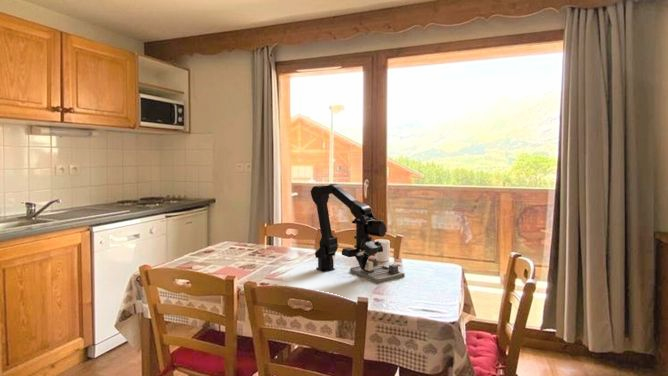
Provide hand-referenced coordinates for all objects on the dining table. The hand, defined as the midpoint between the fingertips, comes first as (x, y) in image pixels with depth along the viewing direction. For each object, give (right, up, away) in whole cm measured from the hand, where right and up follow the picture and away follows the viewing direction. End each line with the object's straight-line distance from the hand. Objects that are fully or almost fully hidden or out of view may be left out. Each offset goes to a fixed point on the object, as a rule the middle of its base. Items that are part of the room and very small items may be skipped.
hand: (362, 269), depth 176 cm
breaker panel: (+7, -3, +5) cm, 9 cm away
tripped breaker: (+3, -2, +2) cm, 4 cm away
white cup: (+12, -1, +30) cm, 32 cm away
